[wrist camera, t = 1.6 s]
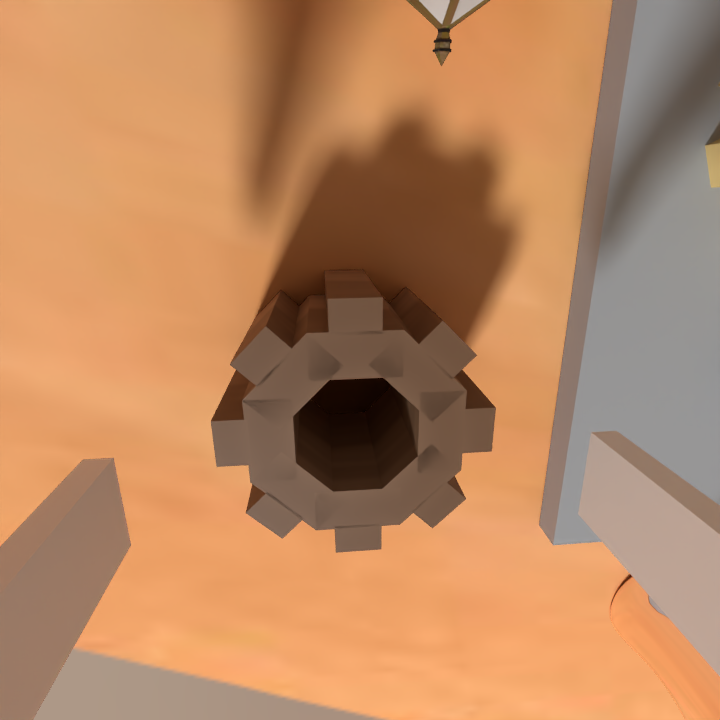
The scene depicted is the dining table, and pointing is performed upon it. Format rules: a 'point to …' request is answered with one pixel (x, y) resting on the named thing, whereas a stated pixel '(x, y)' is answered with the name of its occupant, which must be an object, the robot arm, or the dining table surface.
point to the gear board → (646, 262)
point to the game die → (445, 19)
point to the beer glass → (666, 652)
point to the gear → (713, 161)
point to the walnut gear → (351, 430)
